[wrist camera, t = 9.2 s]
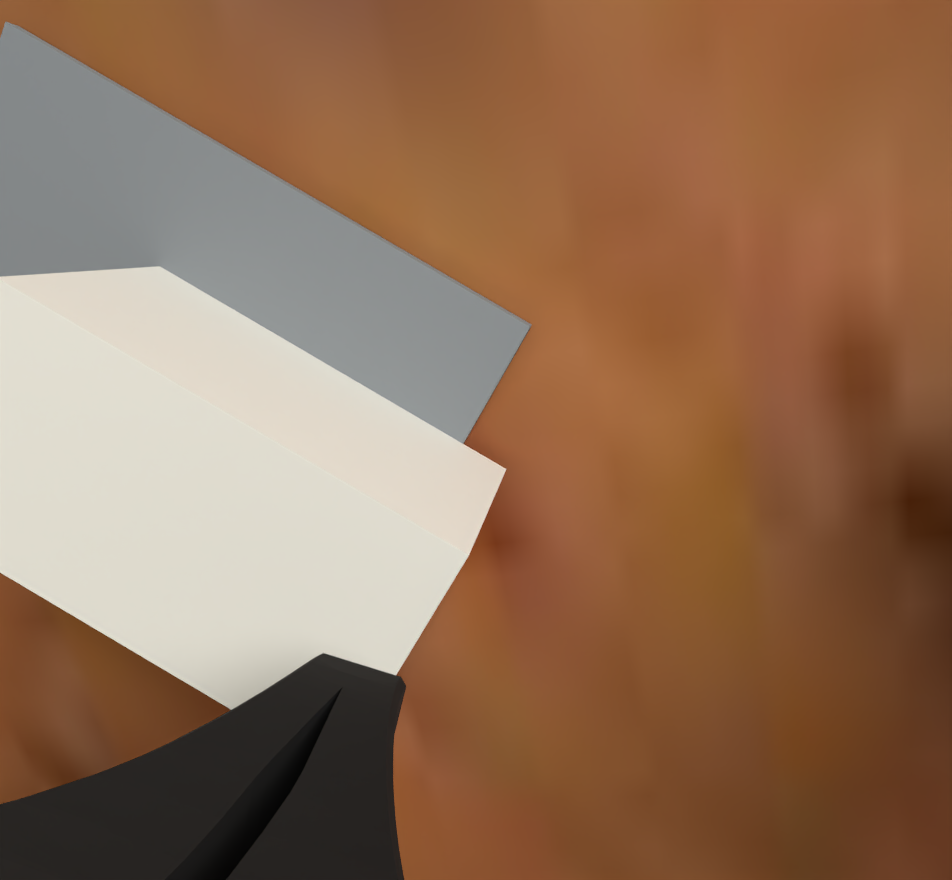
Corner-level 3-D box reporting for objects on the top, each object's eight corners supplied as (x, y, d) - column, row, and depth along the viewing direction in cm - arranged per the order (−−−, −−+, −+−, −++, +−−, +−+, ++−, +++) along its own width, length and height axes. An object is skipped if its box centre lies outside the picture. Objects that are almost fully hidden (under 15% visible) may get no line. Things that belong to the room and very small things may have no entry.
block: (469, 555, 13) (-5, 277, 13) (337, 772, 14) (-88, 520, 15) (506, 469, 18) (159, 266, 18) (404, 638, 19) (84, 449, 19)
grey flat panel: (531, 325, 17) (530, 327, 17) (317, 697, 20) (312, 706, 20) (18, 26, 17) (5, 21, 17) (-115, 441, 21) (-128, 445, 20)
